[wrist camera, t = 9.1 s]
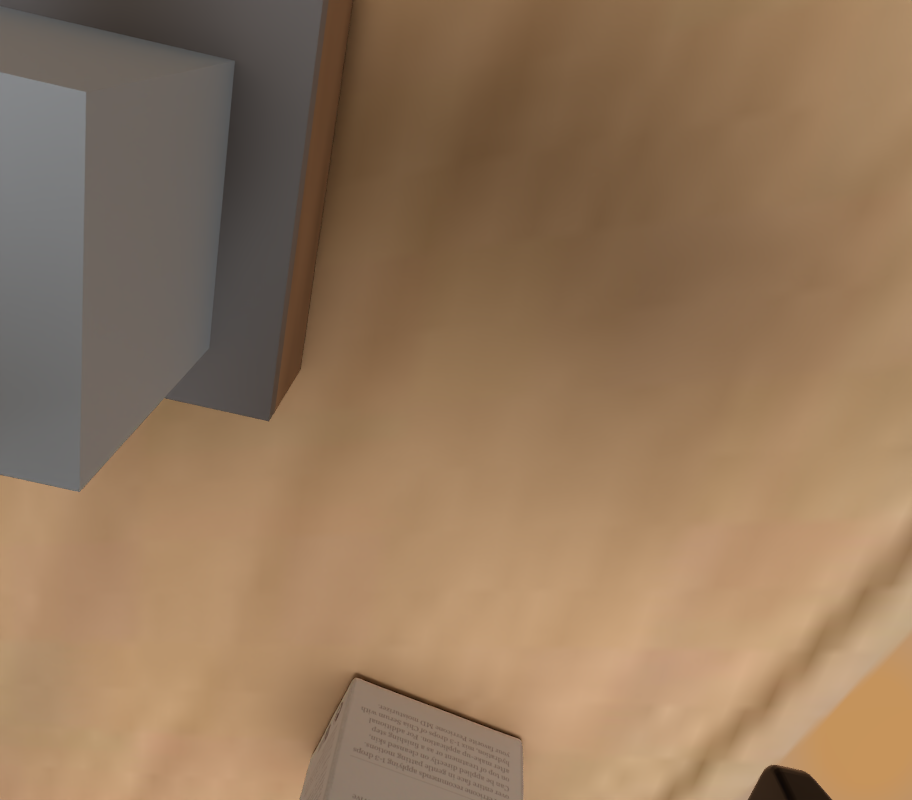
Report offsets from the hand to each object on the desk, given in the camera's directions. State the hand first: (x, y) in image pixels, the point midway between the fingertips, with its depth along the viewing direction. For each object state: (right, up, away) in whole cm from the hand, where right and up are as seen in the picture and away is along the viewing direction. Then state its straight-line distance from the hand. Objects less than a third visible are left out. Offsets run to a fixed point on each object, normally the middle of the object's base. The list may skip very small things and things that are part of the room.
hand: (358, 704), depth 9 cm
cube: (-7, +8, +8) cm, 13 cm away
